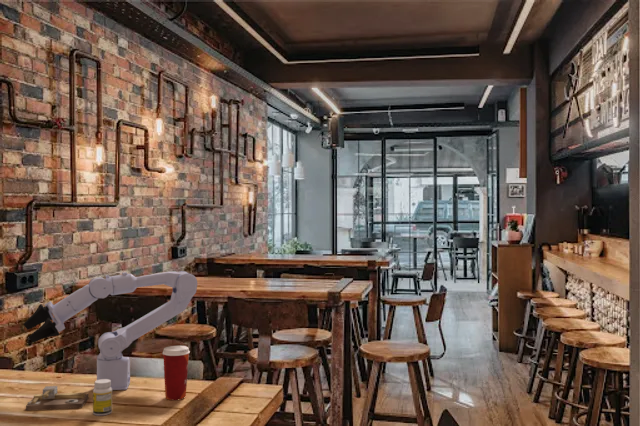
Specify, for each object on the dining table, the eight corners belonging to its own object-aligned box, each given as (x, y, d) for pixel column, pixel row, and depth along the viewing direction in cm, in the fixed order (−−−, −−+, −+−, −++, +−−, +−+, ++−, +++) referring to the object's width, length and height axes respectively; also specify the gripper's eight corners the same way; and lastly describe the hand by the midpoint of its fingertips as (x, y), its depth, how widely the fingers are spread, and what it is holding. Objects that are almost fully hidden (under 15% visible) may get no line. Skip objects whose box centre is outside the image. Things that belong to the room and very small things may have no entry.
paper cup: (194, 397, 175) (195, 348, 175) (171, 403, 170) (172, 352, 170) (179, 391, 180) (179, 343, 181) (156, 397, 175) (156, 347, 175)
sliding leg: (57, 395, 171) (57, 385, 171) (50, 402, 164) (50, 393, 164) (45, 395, 170) (45, 386, 170) (38, 403, 163) (38, 393, 163)
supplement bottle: (95, 410, 163) (96, 378, 163) (114, 410, 163) (114, 378, 163) (90, 416, 158) (90, 383, 158) (109, 416, 158) (109, 383, 158)
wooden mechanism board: (88, 398, 173) (88, 390, 173) (81, 407, 164) (82, 399, 164) (35, 400, 171) (35, 392, 171) (25, 410, 162) (25, 401, 162)
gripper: (58, 285, 183) (15, 311, 179) (70, 306, 172) (25, 336, 168) (70, 301, 187) (29, 328, 183) (83, 324, 176) (39, 353, 172)
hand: (28, 333), depth 176 cm, fingers open, 7 cm apart
